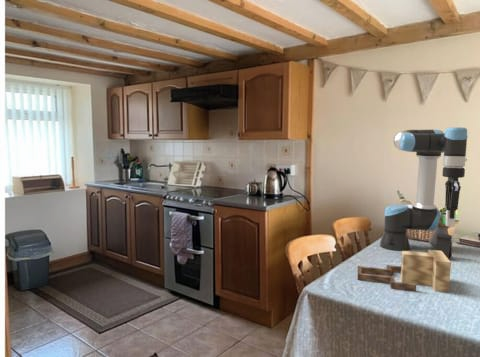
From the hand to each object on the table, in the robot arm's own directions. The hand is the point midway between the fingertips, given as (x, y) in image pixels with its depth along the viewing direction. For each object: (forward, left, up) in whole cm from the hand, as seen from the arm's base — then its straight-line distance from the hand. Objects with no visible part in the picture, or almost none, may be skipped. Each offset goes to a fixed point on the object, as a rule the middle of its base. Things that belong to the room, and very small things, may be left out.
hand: (450, 225), depth 145 cm
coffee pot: (-42, -51, -25) cm, 71 cm away
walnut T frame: (+20, -11, -24) cm, 33 cm away
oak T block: (+8, -4, -24) cm, 26 cm away
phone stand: (-26, -31, -25) cm, 47 cm away
